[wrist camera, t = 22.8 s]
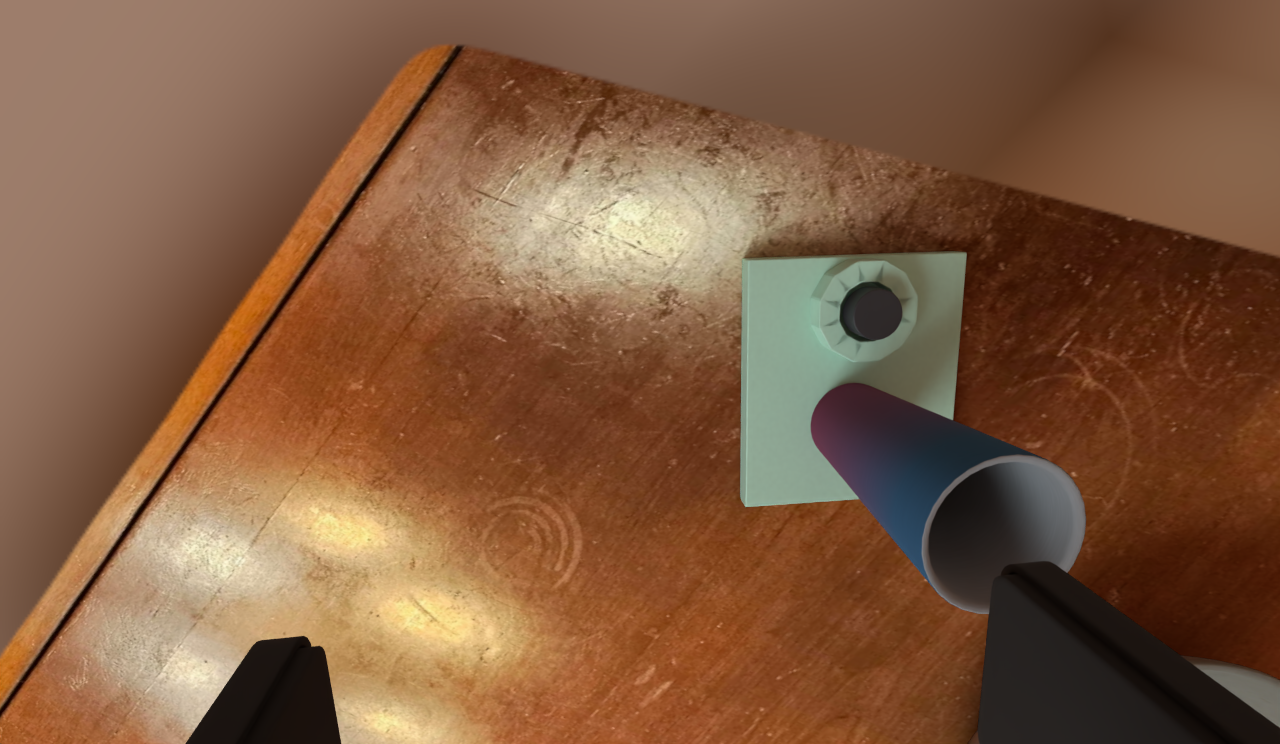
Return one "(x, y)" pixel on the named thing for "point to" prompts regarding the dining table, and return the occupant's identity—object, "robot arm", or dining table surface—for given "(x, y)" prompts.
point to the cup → (949, 491)
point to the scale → (835, 357)
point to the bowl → (1236, 686)
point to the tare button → (872, 312)
